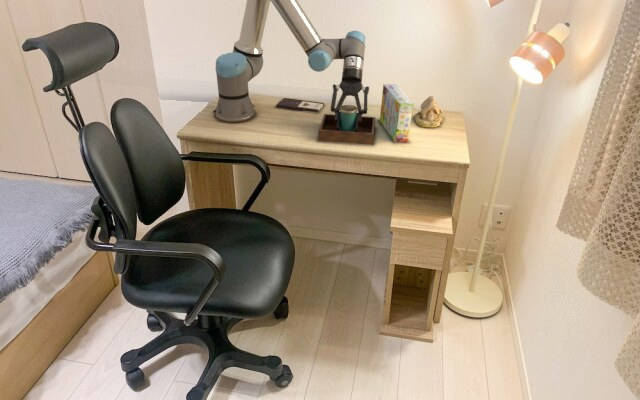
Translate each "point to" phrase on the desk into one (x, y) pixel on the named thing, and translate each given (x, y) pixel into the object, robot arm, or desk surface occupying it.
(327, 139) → the dark wooden tray
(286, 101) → the chocolate bar
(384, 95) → the snack box
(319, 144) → the desk surface
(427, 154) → the desk surface
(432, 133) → the desk surface
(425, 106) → the ceramic model
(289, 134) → the desk surface
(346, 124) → the tin
